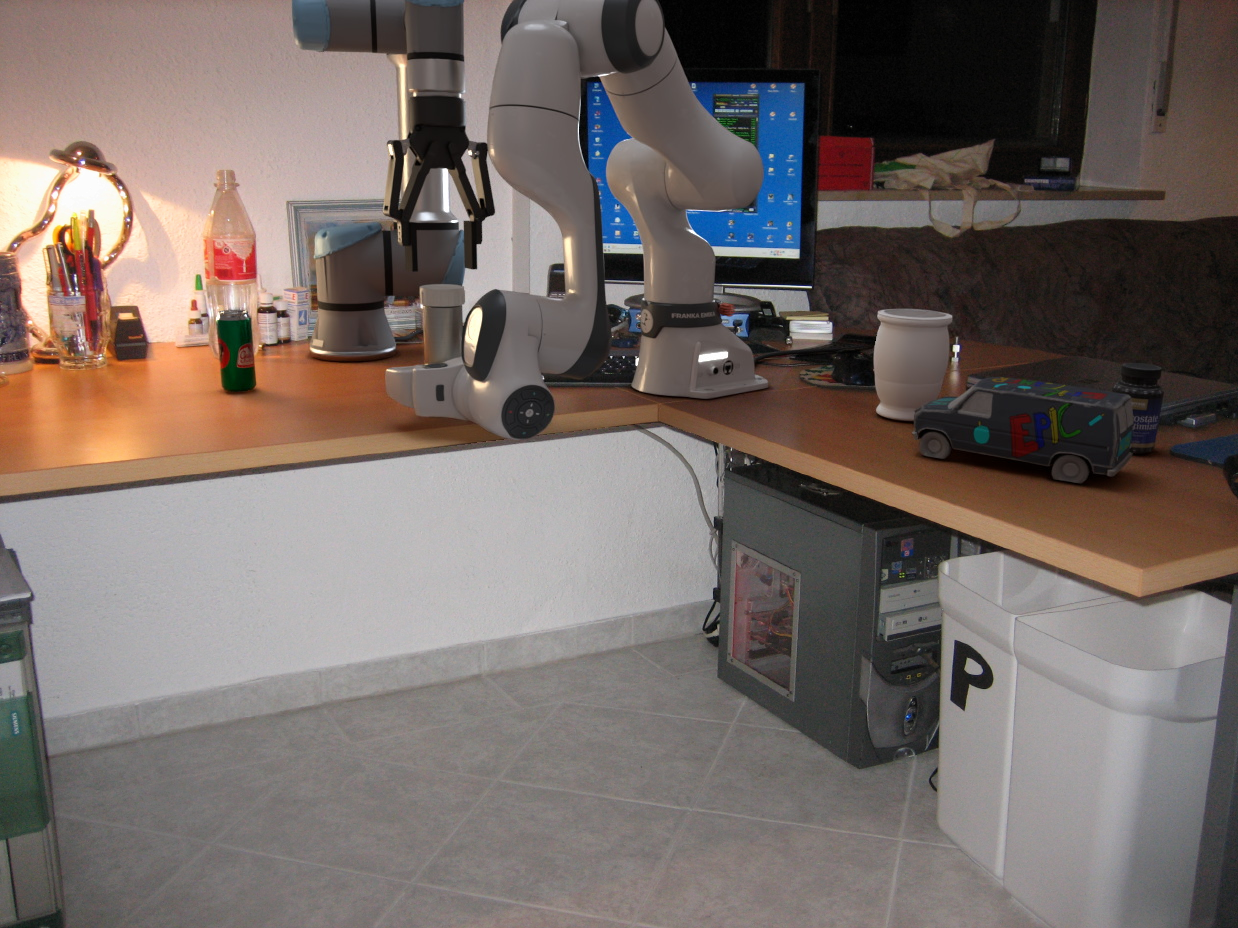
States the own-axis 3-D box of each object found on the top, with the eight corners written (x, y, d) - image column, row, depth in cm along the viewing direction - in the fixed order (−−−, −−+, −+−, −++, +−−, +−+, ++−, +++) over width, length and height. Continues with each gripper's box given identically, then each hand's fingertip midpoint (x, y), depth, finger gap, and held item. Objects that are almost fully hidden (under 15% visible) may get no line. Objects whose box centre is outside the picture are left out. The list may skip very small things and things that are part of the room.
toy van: (934, 436, 145) (942, 364, 142) (1131, 470, 131) (1144, 390, 128) (905, 453, 136) (913, 376, 134) (1112, 490, 123) (1125, 406, 120)
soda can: (245, 393, 162) (239, 314, 158) (215, 391, 163) (208, 313, 159) (262, 387, 166) (257, 310, 163) (233, 385, 167) (226, 308, 164)
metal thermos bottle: (469, 409, 156) (467, 288, 151) (457, 417, 151) (454, 293, 146) (434, 406, 157) (430, 287, 152) (420, 415, 152) (416, 291, 147)
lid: (471, 301, 152) (470, 285, 151) (456, 307, 146) (456, 290, 145) (429, 299, 153) (428, 283, 152) (413, 305, 147) (412, 288, 146)
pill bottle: (1117, 454, 138) (1130, 370, 135) (1094, 442, 144) (1106, 361, 140) (1163, 454, 138) (1177, 370, 135) (1139, 442, 144) (1152, 361, 141)
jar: (854, 409, 159) (862, 309, 155) (910, 404, 163) (920, 306, 159) (898, 426, 150) (909, 320, 146) (957, 420, 154) (969, 317, 150)
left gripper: (496, 100, 150) (498, 264, 156) (350, 93, 139) (359, 270, 146) (520, 98, 144) (521, 269, 150) (369, 91, 133) (377, 275, 139)
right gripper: (549, 357, 145) (508, 341, 157) (404, 370, 135) (371, 351, 147) (549, 403, 147) (508, 383, 159) (406, 418, 137) (373, 396, 149)
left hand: (441, 269), depth 148 cm, fingers open, 8 cm apart
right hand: (441, 368), depth 153 cm, fingers closed on metal thermos bottle, 5 cm apart
